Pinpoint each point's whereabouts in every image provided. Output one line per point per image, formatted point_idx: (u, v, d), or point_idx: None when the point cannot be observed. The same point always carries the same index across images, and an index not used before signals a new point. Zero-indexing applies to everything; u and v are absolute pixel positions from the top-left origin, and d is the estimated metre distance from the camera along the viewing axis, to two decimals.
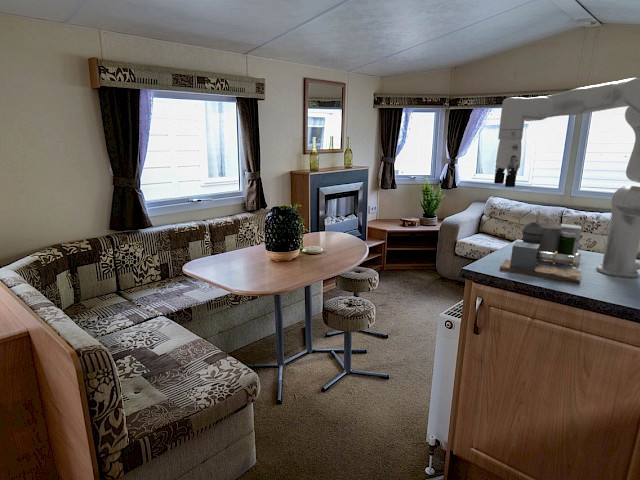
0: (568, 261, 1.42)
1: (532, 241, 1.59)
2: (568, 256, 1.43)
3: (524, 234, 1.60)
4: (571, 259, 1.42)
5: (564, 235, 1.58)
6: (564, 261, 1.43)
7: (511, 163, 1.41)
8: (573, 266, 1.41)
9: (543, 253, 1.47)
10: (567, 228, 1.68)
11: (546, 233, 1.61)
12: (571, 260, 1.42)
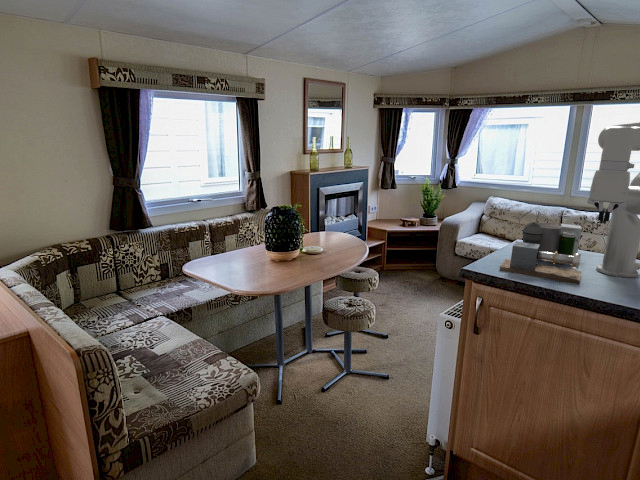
0: (568, 261, 1.42)
1: (532, 241, 1.59)
2: (568, 256, 1.43)
3: (524, 234, 1.60)
4: (571, 259, 1.42)
5: (564, 235, 1.58)
6: (564, 261, 1.43)
7: None
8: (573, 266, 1.41)
9: (543, 253, 1.47)
10: (567, 228, 1.68)
11: (546, 233, 1.61)
12: (571, 260, 1.42)
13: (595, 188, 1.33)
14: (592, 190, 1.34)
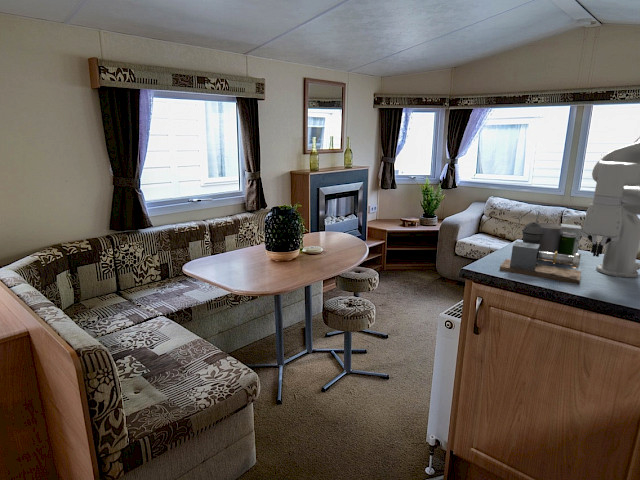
0: (568, 261, 1.42)
1: (532, 241, 1.59)
2: (568, 256, 1.43)
3: (524, 234, 1.60)
4: (571, 259, 1.42)
5: (564, 235, 1.58)
6: (564, 261, 1.43)
7: None
8: (573, 266, 1.41)
9: (543, 253, 1.47)
10: (567, 228, 1.68)
11: (546, 233, 1.61)
12: (571, 260, 1.42)
13: (588, 222, 1.36)
14: (586, 223, 1.37)
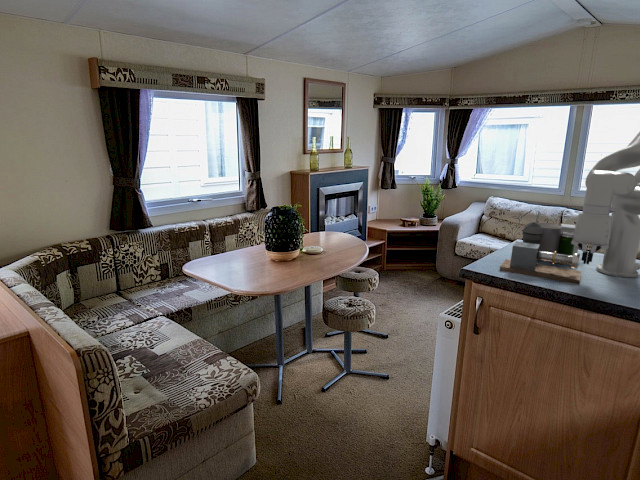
0: (567, 261, 1.43)
1: (532, 241, 1.59)
2: (567, 256, 1.43)
3: (524, 234, 1.60)
4: (570, 259, 1.42)
5: (564, 235, 1.58)
6: (563, 261, 1.43)
7: None
8: (572, 266, 1.42)
9: (542, 253, 1.47)
10: (567, 228, 1.68)
11: (546, 233, 1.61)
12: (570, 260, 1.42)
13: (578, 230, 1.38)
14: (576, 232, 1.39)
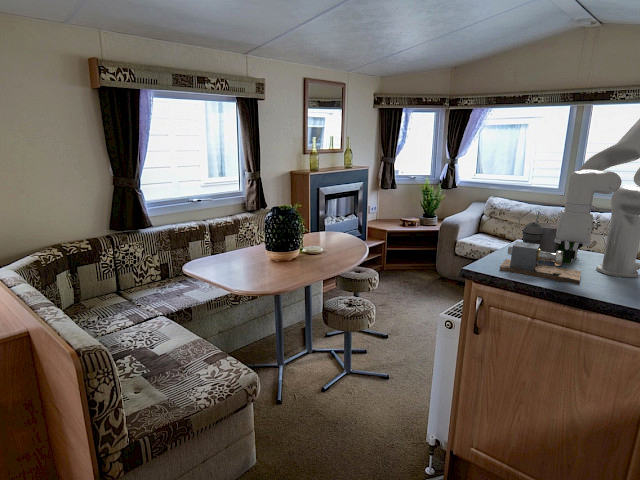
0: (551, 258, 1.45)
1: (532, 241, 1.59)
2: (551, 253, 1.46)
3: (524, 234, 1.60)
4: (554, 256, 1.45)
5: None
6: (547, 258, 1.46)
7: None
8: (555, 263, 1.44)
9: None
10: None
11: (546, 233, 1.61)
12: (554, 257, 1.45)
13: (561, 228, 1.41)
14: (558, 230, 1.41)
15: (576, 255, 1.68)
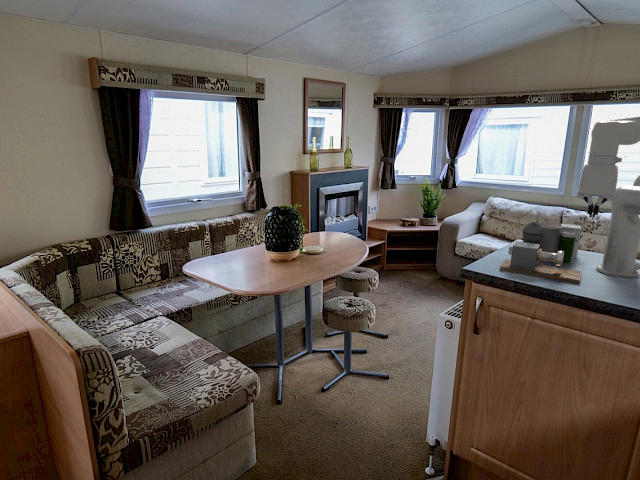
0: (552, 258, 1.45)
1: (532, 241, 1.59)
2: (552, 254, 1.45)
3: (524, 234, 1.60)
4: (554, 256, 1.45)
5: (564, 235, 1.58)
6: (548, 258, 1.46)
7: None
8: (556, 263, 1.44)
9: None
10: (567, 228, 1.68)
11: (546, 233, 1.61)
12: (554, 257, 1.45)
13: (584, 182, 1.35)
14: (581, 184, 1.36)
15: (576, 255, 1.68)
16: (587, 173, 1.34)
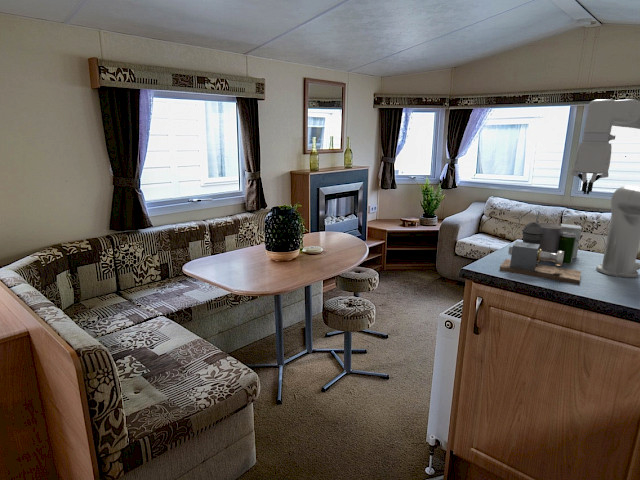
0: (552, 258, 1.45)
1: (532, 241, 1.59)
2: (552, 254, 1.45)
3: (524, 234, 1.60)
4: (554, 256, 1.45)
5: (564, 235, 1.58)
6: (548, 258, 1.46)
7: None
8: (556, 263, 1.44)
9: None
10: (567, 228, 1.68)
11: (546, 233, 1.61)
12: (554, 257, 1.45)
13: (578, 160, 1.39)
14: (576, 162, 1.40)
15: (576, 255, 1.68)
16: (582, 151, 1.38)
